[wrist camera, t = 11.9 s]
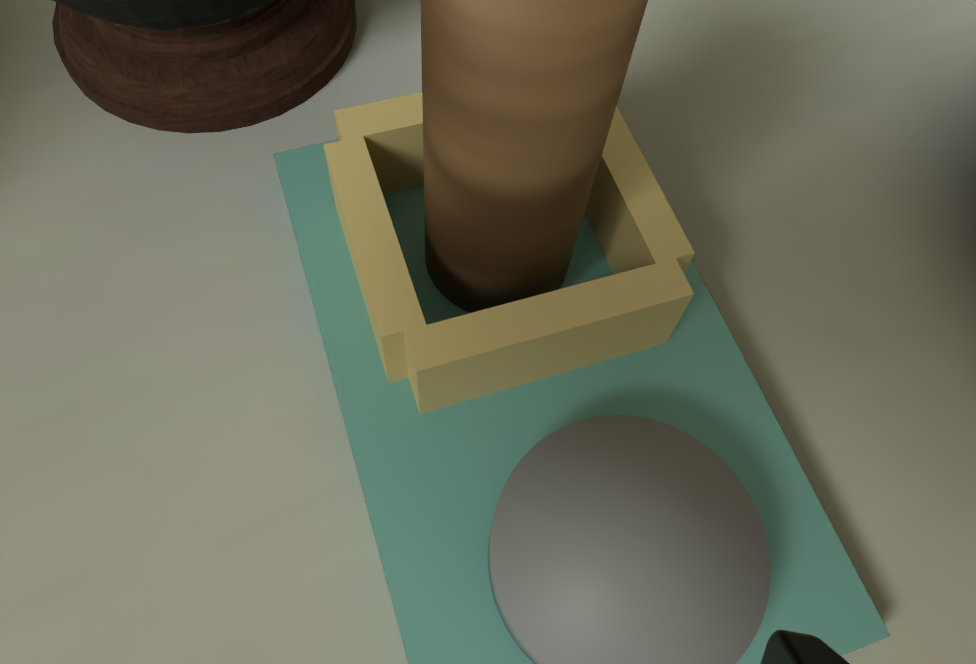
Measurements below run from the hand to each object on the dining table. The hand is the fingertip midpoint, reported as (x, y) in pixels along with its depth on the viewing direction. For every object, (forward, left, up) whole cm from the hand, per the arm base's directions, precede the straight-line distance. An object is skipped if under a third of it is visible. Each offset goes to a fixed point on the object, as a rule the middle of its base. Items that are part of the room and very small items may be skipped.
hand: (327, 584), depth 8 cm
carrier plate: (+7, -6, -14) cm, 16 cm away
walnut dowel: (+11, -6, -13) cm, 18 cm away
